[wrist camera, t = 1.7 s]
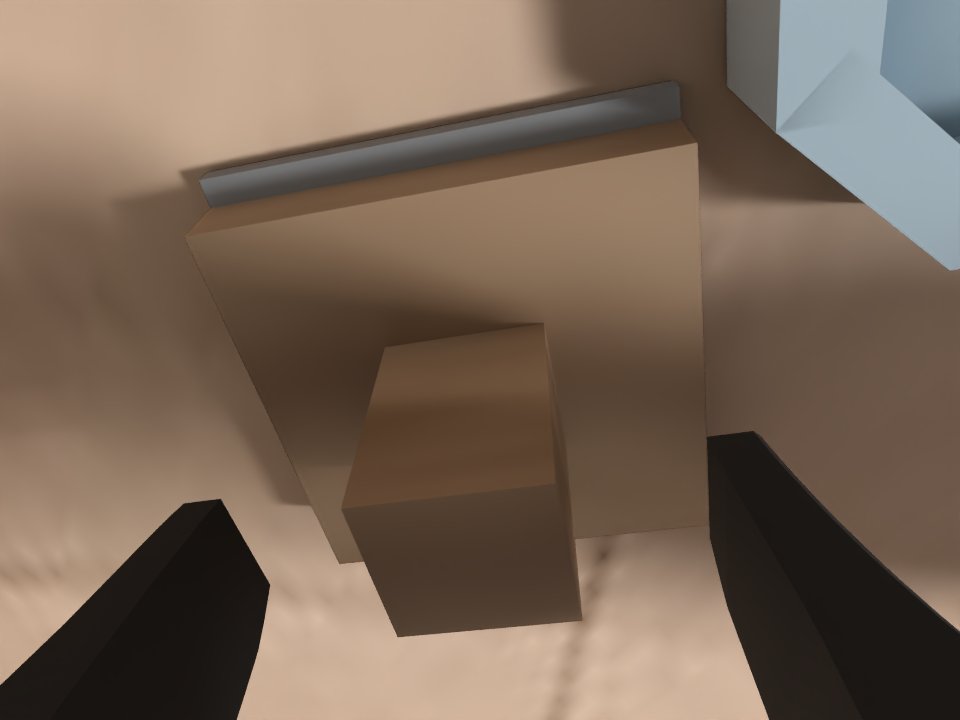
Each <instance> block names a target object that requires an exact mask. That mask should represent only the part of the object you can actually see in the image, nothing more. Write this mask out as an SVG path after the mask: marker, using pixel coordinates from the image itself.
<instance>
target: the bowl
mask: <svg viewBox="0 0 960 720" xmlns="http://www.w3.org/2000/svg"><path fill="white" fill-rule="evenodd" d="M727 87H728V88H729V89H730V90H731V91H732V92H733V93H734V94H736V95H737V96H738V97H739V98H740V99H741V100H742V101H743V102H744V103H745V104H746V105H747V106H748V107H749V108H750V109H751V110H752V111H753V112H754V113H755V114H756V115H757V116H758V117H759V118H760V119H761V120H763V121H764V122H765V123H766V124H767V125H768V126H769V127H770V128H771V129H772V130H773V131H774V132H775V133H777V134H778V135H779V136H781V137H782V138H783V139H785V140H786V141H787V142H788V143H790V144H791V145H792V146H793V147H795V148H796V149H797V150H798V151H800V152H801V153H802V154H803V155H805V156H806V157H807V158H808V159H810V160H811V161H812V162H813V163H815V164H816V165H817V166H819V167H820V168H821V169H822V170H824V171H825V172H826V173H827V174H829V175H830V176H831V177H832V178H834V179H835V180H836V181H837V182H839V183H840V184H841V185H842V186H844V187H845V188H846V189H847V190H849V191H850V192H851V193H852V194H854V195H855V196H856V197H858V198H859V199H860V200H861V201H863V202H864V203H865V204H866V205H868V206H869V207H870V208H871V209H873V210H874V211H875V212H876V213H878V214H879V215H880V216H881V217H883V218H884V219H885V220H886V221H888V222H889V223H890V224H892V225H893V226H894V227H895V228H897V229H898V230H899V231H900V232H902V233H903V234H904V235H905V236H907V237H908V238H909V239H910V240H912V241H913V242H914V243H915V244H917V245H918V246H919V247H920V248H922V249H923V250H924V251H925V252H927V253H928V254H929V255H931V256H932V257H933V258H934V259H936V260H937V261H938V262H939V263H941V264H942V265H943V266H944V267H945V268H946V269H947V270H949V271H951V270H957V269H960V0H727Z"/></svg>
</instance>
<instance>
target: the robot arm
mask: <svg viewBox="0 0 960 720" xmlns="http://www.w3.org/2000/svg"><path fill="white" fill-rule="evenodd" d="M707 450H708V486H709V522H710V540H711V544H712V548H713V552H714V556H715V560H716V564H717V568H718V572H719V576H720V580H721V584H722V588H723V592H724V595H725V599H726V603H727V607H728V610H729V612H730V615H731V618H732V621H733V623H734V626H735V629H736V631H737V634H738V637H739V640H740V642H741V645H742V648H743V650H744V653H745V656H746V659H747V661H748V664H749V667H750V669H751V672H752V675H753V677H754V680H755V683H756V685H757V688H758V691H759V693H760V696H761V699H762V701H763V704H764V707H765V709H766V712H767V715H768V717H769V720H960V631H958V630H957V629H956V628H955V627H954V626H953V625H951V624H950V623H949V622H948V621H947V620H945V619H944V618H943V617H942V616H941V615H939V614H938V613H937V612H936V611H935V610H934V609H933V608H931V607H930V606H929V605H928V604H927V603H926V602H925V601H924V600H922V599H921V598H920V597H919V596H918V595H917V594H916V593H914V592H913V591H912V590H911V589H910V588H909V587H908V586H906V585H905V584H904V583H903V582H902V581H901V580H900V579H899V578H898V577H896V576H895V575H894V574H893V573H892V572H891V571H890V570H889V569H888V568H887V567H886V566H885V565H883V564H882V563H881V562H880V561H879V560H878V559H877V558H876V557H875V556H874V555H873V554H872V553H871V552H870V551H869V550H868V549H867V548H866V547H865V546H864V545H863V544H862V543H860V542H859V541H858V540H857V539H856V538H855V537H854V536H853V535H852V534H851V533H850V532H849V531H848V530H847V529H846V528H845V527H844V526H843V525H842V524H841V523H840V522H839V521H838V520H837V519H836V518H835V517H834V516H833V515H832V514H831V513H830V512H829V511H828V510H827V509H826V508H825V507H824V506H823V505H822V504H821V503H820V502H819V501H818V500H817V499H816V497H815V496H814V495H813V494H812V493H811V492H810V491H809V490H808V489H807V488H806V487H805V486H804V485H803V484H802V483H801V482H800V480H799V479H798V478H797V477H796V476H795V475H794V474H793V473H792V472H791V471H790V469H789V468H788V467H787V466H786V465H785V464H784V463H783V462H782V460H781V459H780V458H779V457H778V456H777V455H776V454H775V452H774V451H773V450H772V449H771V448H770V447H769V445H768V444H767V443H766V442H765V441H764V439H763V438H762V437H761V436H759V435H758V434H757V433H755V432H754V431H750V432H742V433H734V434H727V435H719V436H711V437H707ZM269 589H270V584H269V582H268V580H267V579H266V577H265V575H264V573H263V572H262V570H261V568H260V566H259V565H258V563H257V561H256V559H255V558H254V556H253V554H252V552H251V551H250V549H249V547H248V546H247V544H246V542H245V540H244V539H243V537H242V535H241V533H240V532H239V530H238V528H237V526H236V525H235V523H234V521H233V519H232V518H231V516H230V514H229V513H228V511H227V509H226V507H225V506H224V504H223V502H222V500H221V499H216V500H208V501H200V502H192V503H184V504H183V505H182V506H181V507H180V508H179V509H178V510H176V511H175V512H174V513H173V514H172V515H171V516H170V517H169V518H168V519H167V520H166V521H165V522H164V523H163V524H162V525H161V526H160V527H159V528H158V529H157V530H156V531H155V532H154V533H153V534H152V535H151V536H150V537H149V538H148V539H147V540H146V541H145V542H144V543H143V544H142V545H141V546H140V547H139V548H138V549H137V550H136V551H135V552H134V553H133V554H132V555H131V556H130V557H129V558H128V559H127V560H126V561H125V562H124V564H123V565H122V566H121V567H120V568H119V569H118V570H117V571H116V572H115V573H114V574H113V575H112V576H111V577H110V578H109V579H108V580H107V581H106V582H105V583H104V584H103V585H102V586H101V587H100V588H99V589H98V590H97V591H96V592H95V593H94V594H93V595H92V596H91V597H90V598H89V599H88V600H87V601H86V602H85V603H84V604H83V605H82V606H81V608H80V609H79V610H78V611H77V612H76V613H75V614H74V615H73V616H72V617H71V618H70V619H69V620H68V621H67V622H66V623H65V624H64V625H63V626H62V627H61V628H60V629H59V630H58V631H57V632H56V633H54V634H53V635H52V636H51V637H50V638H49V639H48V640H47V641H46V642H45V643H44V644H43V645H42V646H41V647H40V648H39V649H38V650H37V651H36V652H35V653H34V654H33V655H32V656H30V657H29V658H28V659H27V660H26V661H25V662H24V663H23V664H22V665H21V666H20V667H19V668H18V669H17V670H16V671H15V672H14V673H13V674H12V675H11V676H10V677H9V678H8V679H6V680H5V681H4V682H3V683H2V684H1V685H0V720H237V717H238V714H239V711H240V708H241V704H242V701H243V698H244V695H245V692H246V689H247V685H248V682H249V679H250V676H251V673H252V669H253V666H254V663H255V659H256V656H257V653H258V649H259V644H260V639H261V634H262V629H263V624H264V619H265V613H266V607H267V601H268V595H269Z"/></svg>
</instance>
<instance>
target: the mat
mask: <svg viewBox="0 0 960 720" xmlns="http://www.w3.org/2000/svg"><path fill="white" fill-rule="evenodd" d="M678 119H681V107H680V86H679V85H678V84H677V82H676V81H675V80H673V81H668V82H663V83H658V84H652V85H647V86H642V87H637V88H632V89H627V90H622V91H617V92H612V93H607V94H602V95H597V96H592V97H587V98H581V99H576V100H571V101H566V102H561V103H556V104H551V105H546V106H541V107H536V108H531V109H526V110H521V111H516V112H510V113H505V114H500V115H495V116H490V117H485V118H480V119H475V120H470V121H465V122H460V123H455V124H450V125H445V126H439V127H434V128H429V129H424V130H419V131H414V132H409V133H404V134H399V135H394V136H389V137H384V138H379V139H374V140H368V141H363V142H358V143H353V144H348V145H343V146H338V147H333V148H328V149H323V150H318V151H313V152H308V153H303V154H297V155H292V156H287V157H282V158H277V159H272V160H267V161H262V162H257V163H252V164H247V165H242V166H237V167H232V168H226V169H221V170H216V171H211V172H207V173H206V174H205V175H204V176H203V177H202V178H200V179H199V180H198V181H199V183H200V185H201V187H202V190H203V192H204V194H205V197H206V199H207V201H208V203H209V206H210V208H213V207H218V206H223V205H229V204H234V203H239V202H245V201H250V200H255V199H260V198H266V197H271V196H276V195H282V194H287V193H292V192H297V191H303V190H308V189H313V188H319V187H324V186H329V185H335V184H340V183H345V182H350V181H356V180H361V179H366V178H372V177H377V176H382V175H387V174H393V173H398V172H403V171H409V170H414V169H419V168H424V167H430V166H435V165H440V164H446V163H451V162H456V161H461V160H467V159H472V158H477V157H483V156H488V155H493V154H498V153H504V152H509V151H514V150H520V149H525V148H530V147H536V146H541V145H546V144H551V143H557V142H562V141H567V140H573V139H578V138H583V137H588V136H594V135H599V134H604V133H610V132H615V131H620V130H625V129H631V128H636V127H641V126H647V125H652V124H657V123H662V122H668V121H673V120H678Z"/></svg>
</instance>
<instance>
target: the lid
mask: <svg viewBox="0 0 960 720" xmlns="http://www.w3.org/2000/svg"><path fill="white" fill-rule="evenodd" d="M184 239H185V241H186V243H187V245H188V247H189V249H190V251H191V253H192V256H193V258H194V260H195V262H196V264H197V266H198V268H199V270H200V272H201V274H202V277H203V279H204V281H205V283H206V285H207V287H208V289H209V291H210V293H211V295H212V298H213V300H214V302H215V304H216V306H217V308H218V310H219V312H220V314H221V316H222V319H223V321H224V323H225V325H226V327H227V329H228V331H229V333H230V335H231V337H232V340H233V342H234V344H235V346H236V348H237V350H238V352H239V354H240V356H241V358H242V361H243V363H244V365H245V367H246V369H247V371H248V373H249V375H250V377H251V380H252V382H253V384H254V386H255V388H256V390H257V392H258V394H259V396H260V398H261V401H262V403H263V405H264V407H265V409H266V411H267V413H268V415H269V417H270V419H271V422H272V424H273V426H274V428H275V430H276V432H277V434H278V436H279V438H280V440H281V443H282V445H283V447H284V449H285V451H286V453H287V455H288V457H289V459H290V461H291V464H292V466H293V468H294V470H295V472H296V474H297V476H298V478H299V480H300V482H301V485H302V487H303V489H304V491H305V493H306V495H307V497H308V499H309V501H310V503H311V506H312V508H313V510H314V512H315V514H316V516H317V518H318V520H319V522H320V524H321V527H322V529H323V531H324V533H325V535H326V537H327V539H328V541H329V543H330V545H331V548H332V550H333V552H334V554H335V556H336V558H337V560H338V562H339V564H345V563H354V562H363V561H364V562H365V565H366V567H367V569H368V571H369V574H370V576H371V578H372V580H373V583H374V585H375V587H376V589H377V592H378V594H379V596H380V598H381V601H382V603H383V605H384V607H385V610H386V612H387V614H388V616H389V619H390V621H391V623H392V625H393V628H394V630H395V632H396V634H397V637H405V636H416V635H428V634H439V633H450V632H461V631H472V630H484V629H495V628H506V627H517V626H529V625H540V624H551V623H562V622H573V621H582V610H581V600H580V589H579V579H578V568H577V557H576V547H575V539H580V538H589V537H599V536H608V535H618V534H627V533H636V532H646V531H655V530H665V529H674V528H683V527H693V526H702V525H709V515H708V481H707V446H706V412H705V378H704V343H703V309H702V274H701V240H700V206H699V171H698V142H697V141H696V140H695V138H694V137H693V135H692V134H691V132H690V131H689V130H688V128H687V127H686V125H685V124H684V123H683V121H682V120H681V119H678V120H673V121H668V122H662V123H657V124H652V125H647V126H641V127H636V128H631V129H625V130H620V131H615V132H610V133H604V134H599V135H594V136H588V137H583V138H578V139H573V140H567V141H562V142H557V143H551V144H546V145H541V146H536V147H530V148H525V149H520V150H514V151H509V152H504V153H498V154H493V155H488V156H483V157H477V158H472V159H467V160H461V161H456V162H451V163H446V164H440V165H435V166H430V167H424V168H419V169H414V170H409V171H403V172H398V173H393V174H387V175H382V176H377V177H372V178H366V179H361V180H356V181H350V182H345V183H340V184H335V185H329V186H324V187H319V188H313V189H308V190H303V191H297V192H292V193H287V194H282V195H276V196H271V197H266V198H260V199H255V200H250V201H245V202H239V203H234V204H229V205H223V206H218V207H213V208H210V209H209V210H208V211H207V212H206V213H205V214H204V216H203V217H202V218H201V219H200V220H199V221H198V222H197V223H196V224H195V225H194V226H193V227H192V229H191V230H190V231H189V232H188V233H187V234H186V235H185V236H184Z"/></svg>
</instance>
